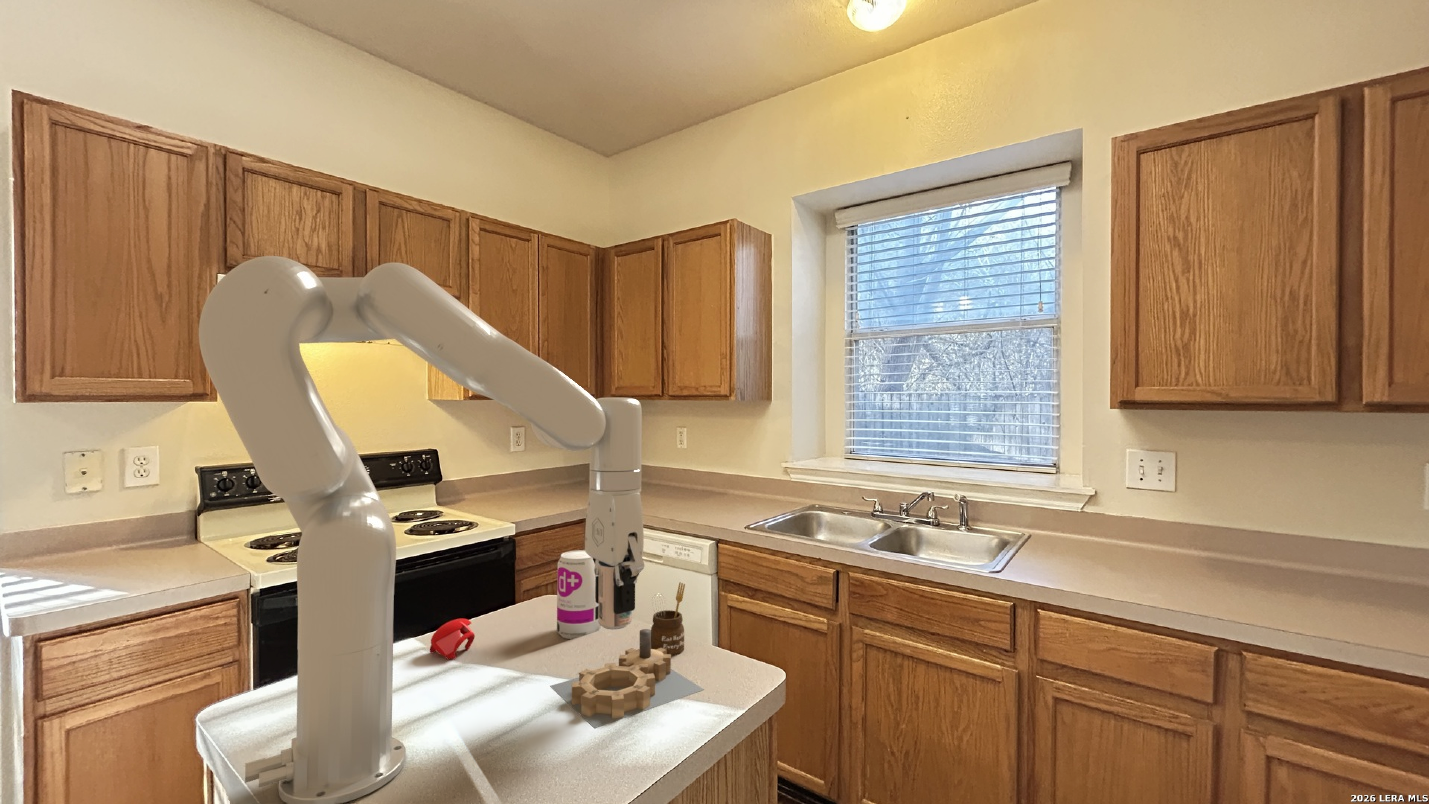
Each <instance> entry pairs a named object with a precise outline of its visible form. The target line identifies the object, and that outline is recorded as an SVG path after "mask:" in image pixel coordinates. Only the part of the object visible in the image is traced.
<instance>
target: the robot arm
mask: <svg viewBox="0 0 1429 804" xmlns="http://www.w3.org/2000/svg"><path fill="white" fill-rule="evenodd" d="M198 325H199V326H198V341H199V349H200V353H201V357H202V361H203V364H204V366H205V369H206V371H207V374H208V375H209V378H210V380H211V383H212V384H213V387H214V388H215V390H216V392H217V394H218V396H219V398H220V400H221V403H223V406H224V408H225V410H226V412H227V415H228V417H229V418H230V422H232V426H233V427H234V429H235V430H236V432H237V435H238V436H239V438H240V440H241V442H242V444H243V446H244V448H245V450H246V451H247V453H248V455H249V458H250V459H251V462H252V464H253V466H254V468H255V471H256V473H257V477H259V480H260V481H261V483H262V484H263V485H264V487H265V488H266V489H267V490H268V491H269V492H271V493H272V494H273V495H274V496H276V497H279V498H280V499H282V500H283V501H284V503H285V505H286V506H287V508H288V511H289V512H290V514H291V515H292V517H293V520H294V521H295V523H296V525H297V527H298V528H299V530H300V532H301V536H300V539H299V544H298V549H297V555H296V585H297V588H296V589H297V679H296V680H297V682H296V683H297V690H296V691H297V694H296V737H293V738H292V739H291V747H289V748H287V749H283V750H280V754H277V755H274V756H269V757H262V758H259V759H256V760H252V761H249V762H246V763H245V766H244V767H245V768H244V769H245V771H244V774H245V776H244V783H249V782H253V781H256V780H258V788H263V787H265V786H269V785H273V784H274V783H276V782H278V795H279V796H278V797H279V798H280V800H281V801H282V802H284V803H286V804H345V803H348V802H350V801H353V800H356V799H360V798H361V797H362V798H363V797H364V796H366V795H368V794H371V793H372V792H375V791H376V790H378V789H380V788H381V787H383V786H384V785H386V784H387V783H389V782H390V781H392V779H394V778H395V777H396V776H397V775H398V774H399V773H400V771H401V770H402V769H403V767H404V765H405V764H406V758H407V752H406V751H407V750H406V746H405V744H404V743H403V742H402V741H400V740H399V739H397V738H395V737H392V736H393V735H392V733H393V727H392V726H393V676H394V675H393V671H394V670H393V669H394V668H393V667H394V664H393V663H394V660H393V659H394V602H395V601H394V595H395V579H396V578H395V577H396V565H397V564H396V563H397V541H396V534H395V533H396V532H395V529H394V528H395V527H394V526H393V521H392V520H391V517H390V514H389V512H388V510H387V508H386V506H385V504H384V502H383V501H382V499H381V497H380V494H379V493H378V491H377V488H376V487H375V485H374V483H373V481H372V479H371V477H370V475H369V473H368V470H367V469H366V466H365V465H364V463H363V461H362V459H361V458H360V455H359V453H358V451H357V448H355V445H354V444H353V441H352V440H351V438H350V436H349V435H348V434H347V433H346V432H345V431H344V429H342V427H340V426H339V425H337V424H336V423H335V421H334V419H333V417H332V415H331V414H330V412H329V410H328V408H327V407H326V404H325V402H324V401H323V399H322V396H321V395H320V393H319V391H318V388H317V386H316V383H315V381H314V379H313V377H312V374H311V373H310V371H309V369H308V368H307V365H306V363H305V361H304V359H303V355H302V353H301V349H300V348H301V347H300V344H323V343H325V344H326V343H346V342H350V343H351V342H371V341H373V342H374V341H382V340H383V341H384V340H386V341H387V340H395V341H397V342H398V343H400V344H401V345H402V346H404V347H405V348H407V349H408V350H410V351H411V352H413V353H414V354H415V355H417V356H418V357H420V358H421V359H422V360H424V361H426V363H428V364H429V365H431V366H432V367H433V368H435V369H436V370H438V371H439V372H440V373H442V374H443V375H445V376H446V377H447V378H449V379H450V380H452V381H453V382H455V383H456V385H457V384H458V385H459V386H461V387H463V388H465V389H467V390H469V391H471V392H473V393H475V394H478V395H481V396H483V397H487V398H489V399H491V400H494V401H496V402H498V403H499V404H501V405H503V406H505V407H506V408H508V409H509V410H511V411H513V412H514V413H516V414H518V415H519V416H521V417H522V418H524V419H526V421H528V422H529V423H530V425H531V429H532V431H533V434H534V436H535V437H536V438H537V439H538V440H539V441H540V442H541V443H542V444H544V445H545V446H548V447H551V448H554V449H559V450H560V449H561V450H567V451H571V452H582V451H586V450H588V449H589V488H588V489H589V493H588V499H587V506H586V516H585V517H586V518H585V530H584V532H585V535H584V550H585V551H586V553H587V554H588V555H589V556H590V557H592V558H593V561H594V563H595V568H594V573H595V575H596V603H598V604H599V561H601V562H603V563H606V564H608V565H611V566H614V567H615V575H616V583H617V585H614V610H613V611H614V613H616V614H620V613H625V612H629V611H633V612H634V611H635V610H636V584H637V583H638V577H639V576H640V573H641V572H642V571H643V570H644V569H645V562H644V559H643V557H644V556H643V555H644V545H645V544H644V543H645V542H644V539H645V538H644V536H645V535H644V516H643V507H642V506H643V504H642V498H641V492H642V448H643V447H642V444H643V443H642V438H643V436H642V435H643V434H642V430H643V429H642V428H643V427H642V425H643V424H642V423H643V417H642V416H643V413H642V412H643V411H642V405H641V402H640V401H639V400H637V399H635V398H632V397H599V398H594V397H593V396H592V395H591V394H590V393H589V392H588V391H586V390H585V389H584V388H582V387H581V386H580V385H578V384H577V383H576V382H575V381H573V380H572V379H571V378H569V376H567V375H565V374H564V373H563V372H562V371H560V369H558V368H556V367H555V366H553V365H552V364H550V363H549V362H548V361H546V360H544V359H543V358H541V357H539V356H538V355H536V354H534V353H532V352H531V351H529V349H528V350H527V349H526V348H525V347H524V346H522V345H521V344H519V343H517V342H516V341H514V340H512V339H511V338H510V337H509V338H508V337H507V336H506V335H504V334H503V333H501V332H499V331H498V330H497V329H496V328H494V327H493V326H492V325H490V324H489V323H488V322H487V321H485V320H484V319H482V317H479V316H478V315H477V314H476V313H474V312H473V311H472V310H471V309H470V308H468V307H467V306H466V305H465V304H463V303H462V302H460V300H458V299H457V298H456V297H455V296H453V295H452V294H451V293H450V292H448V291H446V289H444V288H443V287H441V286H440V285H438V284H437V283H436V282H435V281H434V280H432V279H431V278H430V277H428V276H427V275H426V274H424V273H422V272H421V271H419V270H418V269H417V268H415V267H414V266H413V267H412V266H411V265H409V264H406V263H401V262H386V263H382V264H380V265H377V266H376V267H374V268H373V269H371V270H370V271H369V272H367V274H366V275H365V276H364V277H363V276H362V277H330V276H329V277H327V276H326V277H324V276H323V277H322V276H321V277H320V276H317V275H316V273H314V272H313V271H312V270H311V269H310V268H308V267H307V266H306V265H304V264H302V263H300V262H299V261H297V260H294V259H291V258H288V257H284V256H278V255H266V256H265V255H264V256H263V255H262V256H258V257H257V256H256V257H255V258H251V259H250V260H247V261H246V260H245V261H244V262H242V263H240V264H238V265H237V266H235V267H234V268H233V269H231V270H230V271H228V273H226V274H224V276H222V278H221V279H220V280H219V281H218V282H217V283H216V284H215V286H214V287H213V289H211V291H210V293H209V294H208V296H207V298H206V300H205V302H204V304H203V307H202V310H201V314H200V318H199V324H198ZM625 557H629V561H625V562H623V560H624V558H625ZM623 566H628V567H629V568H628V569H626V570H625V571H624V573H622V567H623ZM597 575H598V576H597Z"/></svg>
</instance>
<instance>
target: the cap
mask: <svg viewBox="0 0 1429 804" xmlns="http://www.w3.org/2000/svg"><path fill="white" fill-rule="evenodd" d="M470 625H472V622H471V620H469V619H467V618H457V619H452V620H449V621H447V622H446V623H444V624H442V625H441V626H439V628H437V629H436V631H435V632H434V633H433V635H432V636H431V638H430V648H429V653H430V654H433V653H435V652H437V653H438V655H441V656H442V657H445V659H446V660H455V659H456V652H457V651H458V649H459V647H460V646H461V645H462V644H463V643H465V641H466V640H467V642H466V643H465V645H464V649H465V650H469V649H470V648H471V646H472V644H473V642H474V640H475V637H476V635H475V633H474V632H473V630H472V629H471V628H470ZM461 634H462V635H461Z"/></svg>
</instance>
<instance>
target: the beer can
mask: <svg viewBox="0 0 1429 804" xmlns="http://www.w3.org/2000/svg"><path fill="white" fill-rule="evenodd" d="M625 561H629V557H625V558H624V560H623V562H625ZM628 568H629V567H628V566H623V567H622V573H624V571H625V570H626V569H628ZM614 585H617V583H616V575H615V567H614V566H611V565H608V564H606V563H603V562H601V561H599V610H598V623H599V625H601V627H602V628H603V629H606V630H621V629H624V628H626V627H627V626H629V625H630V624H632V621H633V620H632V618H633V616H632V615H633V612H632V611H629V612H625V613H620V614H616V613H614V611H613V610H614Z"/></svg>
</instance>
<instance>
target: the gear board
mask: <svg viewBox="0 0 1429 804" xmlns="http://www.w3.org/2000/svg"><path fill="white" fill-rule="evenodd" d="M578 681H579V677H576V678H573V679H569V680H566V681H565V680H564V681H562V682H559V683H554V684H552V685H549V687H550V688H551V689H552V690H553V691H554V692H556V694H558V696H560V697H561V698H562V699H563V700H564V701H565V702H566V703H567V704H568V705H569V706H570V707H571V708H573V710H575V711H576V712H577V714H579V715H580V716H581V717H582V718H583V719H584V720H585V721H586V722H587V723H589V724H590V726H592V728H594V729H597V728H600V727H603V726H605V725H609V724H611V723H614V722H617V721H619V720H623V719H625V718H629V717H631V716H635V715H637V714H640V713H642V712H645V711H648V710H651V709H654V708H657V707H660V706H662V705H666V704H669V703H671V702H674V701H677V700H680V699H683V698H685V697H688V696H691V695H694V694H697V693H699V692H703V691H705V689H704V688H703V687H701V686H699V685H698V684H696V683H695V682H693V681H691V679H689V678H687V677H685V676H683V675H682V674H680V673H678V672H677V671H675V670H674V669H672V668H671V674H666V679H663V680H661V681H657V680H655V695H651V696H650V706H648V707H647V708H646V709H644V710H641V709H638V708H635V709H632V710H629V711H626V712H624V717H620V718H612V715H611V714H603V713H595V714H594V715H592V716H591V717H589V716H586V715H583V714H581V704H576V705H572V682H578ZM625 688H628V687H614V686H611V687H607V688H604V689H601V690H606V691H619V690H622V689H625Z"/></svg>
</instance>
